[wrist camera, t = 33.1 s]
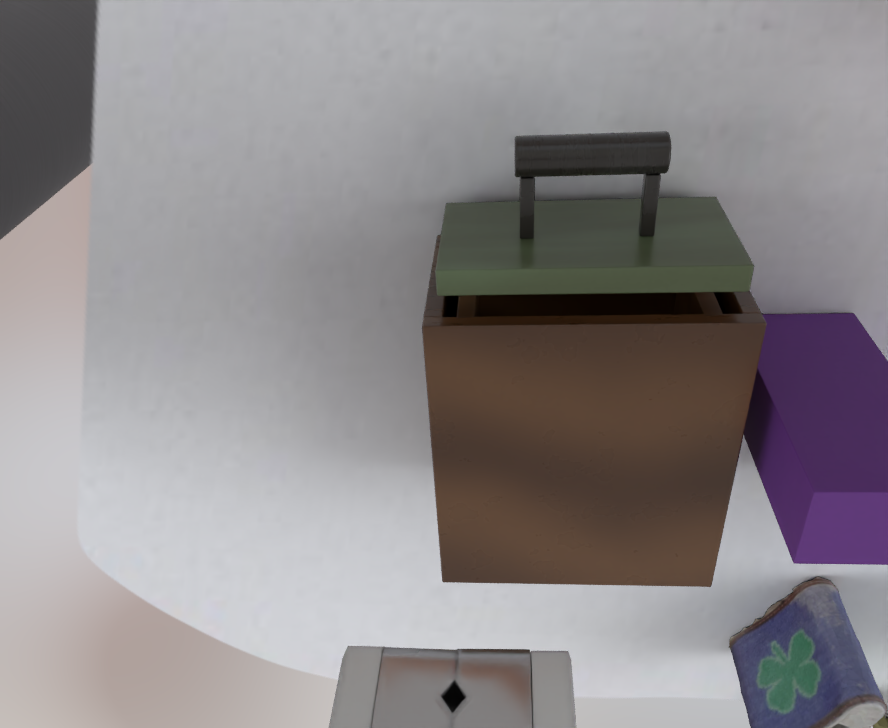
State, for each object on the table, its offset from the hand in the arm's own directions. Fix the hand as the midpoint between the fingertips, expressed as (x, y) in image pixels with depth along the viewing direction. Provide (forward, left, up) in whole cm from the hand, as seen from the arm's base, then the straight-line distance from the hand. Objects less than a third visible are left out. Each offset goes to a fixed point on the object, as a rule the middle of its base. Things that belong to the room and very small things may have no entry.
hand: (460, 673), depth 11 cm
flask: (+19, -36, -29) cm, 50 cm away
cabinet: (+4, -15, -29) cm, 33 cm away
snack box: (+15, -14, -29) cm, 36 cm away
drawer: (+4, -10, -28) cm, 30 cm away
